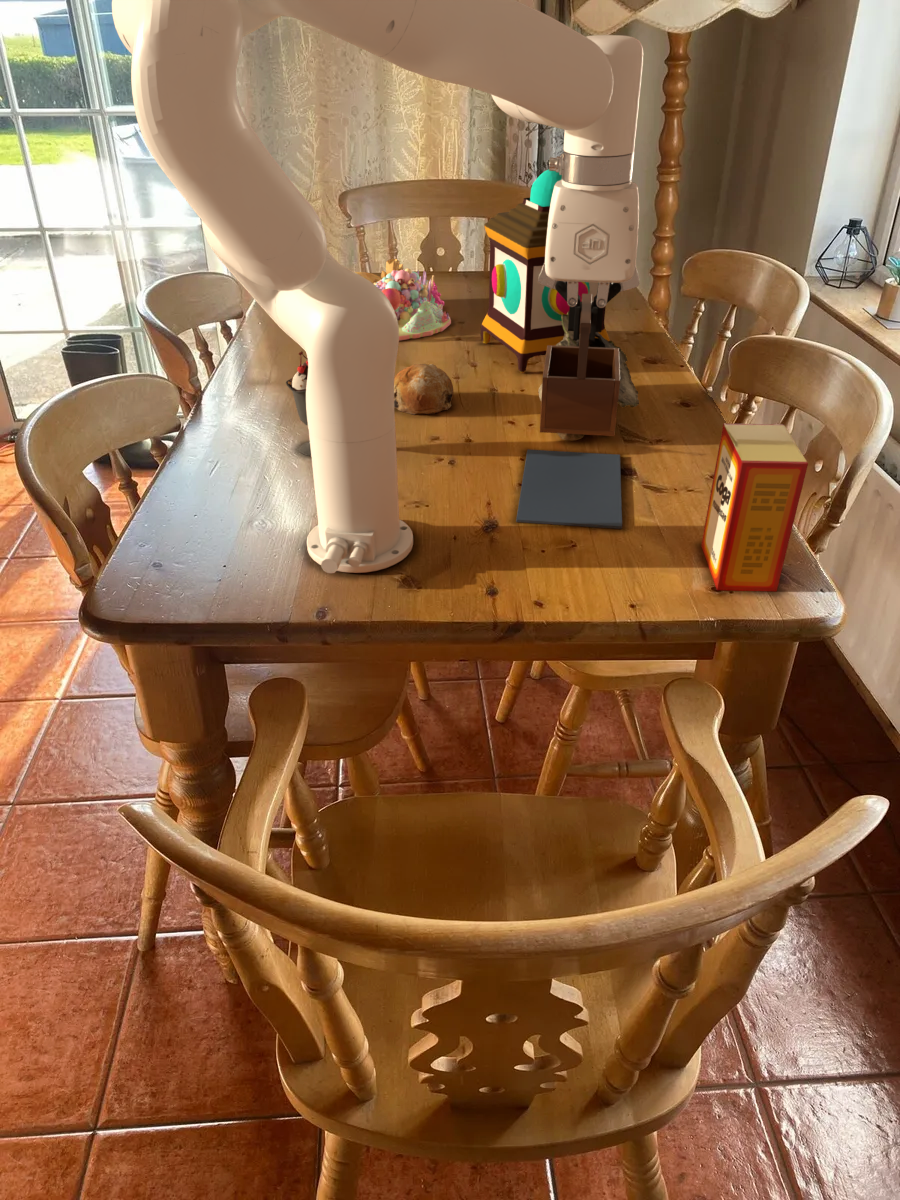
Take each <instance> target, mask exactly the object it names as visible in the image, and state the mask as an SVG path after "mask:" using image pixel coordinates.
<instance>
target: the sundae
mask: <svg viewBox="0 0 900 1200" xmlns="http://www.w3.org/2000/svg"><path fill="white" fill-rule="evenodd" d="M298 355H299V366H297V368H296V369H297V372H296V373H295V374H294V375H293V377H292V378H289V379H288V380H285V385H286V386H287V388H288V389H289V390H290V391H291V392H292V396H293V399H294V403H295V408H296V411H297V415H298V417H299V420H300V421H301V422H302V423H303V424H304V425H305V426H307V427H308V422H307V411H306V386H307V377H308V358H307V356H305V354H304V352H303V350H301V351H300V352H298ZM302 357H304V359H306V361H305V362H303V363H302ZM298 450H299V452H300V453H301V454H302V455H304V456H307V457H311V447H310V441H307V442H304V443H303V444H301V445H300V446H299V449H298Z"/></svg>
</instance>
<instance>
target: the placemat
mask: <svg viewBox="0 0 900 1200" xmlns="http://www.w3.org/2000/svg"><path fill="white" fill-rule="evenodd" d="M621 469H622V468H621V454H617V453H616V454H614V453H599V452H597V453H596V452H580V451H578V452H577V451H564V450H563V451H561V450H545V449H527V451H526V455H525V463H524V469H523V475H522V481H521V487H520V494H519V499H518V507H517V514H516V520H515V522H516V523H523V524H524V523H525V524H541V525H554V526H567V527H568V526H570V527H572V526H573V527H584V528H601V529H614V530H615V529H617V530H622V529H623V509H622V505H623V504H622V477H621V475H622V473H621V472H622V471H621Z"/></svg>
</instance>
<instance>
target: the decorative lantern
mask: <svg viewBox="0 0 900 1200" xmlns="http://www.w3.org/2000/svg"><path fill="white" fill-rule="evenodd" d="M560 180H562V175H559V172H556V171H549V168H548V169H547V170H544V171H543V172H542V173H541V174H539V176H538V177H536V179H535V180H534V181H533V183H532V185H531V188H530V195H529V196H530V197H524V198H523V200H522V202H520V203H518V204H516V206H515V207H514V208H510V209H509V211H506V212H497V213H496V215H495V216H494V217H491V218H489V220H488V221H487V222H485V223H484V230H485V233H486V235H487V237H488V240H489V275H488V276H489V279H488V281H489V285H488V308H487V309H488V310H487V312H486V315H485V316H484V319H483V320H482V323H481V325H480V339H481V342H482V343H483V344H485V345H487V344H488V343H490V341H491V337H492V338H494V339H495V340H496V341H498V342H499V343H500V344H502V345H503V346H504V347H505V348H507V349H508V350H509V351H511V352H512V353H513V354H514V355H515V356H516V358H517V368H518V371H519V372H520V373H521V374H524V373H525V372H526V370H527V366H528V364H529V363H528V362H529V360H530V359H531V358H534V357H540V356H546V351H547V345H552V346H556V345H557V344H558V343H559V342H560V341H562V340H563V337H564V336H565V335H564V333H565V332H564V329H563V326H562V323H561V322H562V319H561V318H562V317H561V316H562V315H563V314H565V315H567V313H568V312H569V307H570V306H569V305H568V304H567V301H566V300H565V299H564V298H563V297H562V296H561V295H560V294H559V293H558V292H557V290H555V289H552V288H549V287H546V286H544V285H541V284H540V283H539V282H538V278H539V275H540V272H541V269H542V267H543V264H544V262H545V249H546V238H547V228H548V218H549V211H550V204H551V199H552V194H553V190H554V186H555V184H556V182H558V181H560ZM597 288H598V282H578V295H579V296H580V297H581V298H580V302H582V294H592V302H593V300H594V297H595V296H596V295H597ZM606 306H607V305H606ZM606 306H605V307H604V309H603V320H602V331H601V332H598V333H599V334H600V335H602V337H603V338H605V339H606V340H608V342H609V341H611V339H610V336H609V334H608V332H607V329H606V325H605V317H606V316H605V315H606ZM595 338H597V337H595Z"/></svg>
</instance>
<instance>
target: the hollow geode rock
mask: <svg viewBox="0 0 900 1200" xmlns="http://www.w3.org/2000/svg"><path fill="white" fill-rule="evenodd" d="M561 317H562V318H561V319H562V322H561V323H562V326H563V329H564V332H565V333H564V335H565V336H564V337H563V340H562V341H560V342H559V343H558V344H557V345H556V346H577V347H579V340H580V335H579V340H577V341H573V335H574V331H568V322H569V312H568V313H567V315H565V314H563V315H562V316H561ZM595 337H597V338H595V341H590V340H589V343H588V347H602V348H619V363H620V388H619V397H618V405H619V406H620V408H623V409H625V408H626V407H628V406H629V408H636V407H637V406H639V405H640V400H639V398H638V397H639V391H638V389H636V386H635V384H634V382H633V381H632V375H631V371H630V369H629V367H628V365H627V362H628V357H627V355H626V353H624V351H623V350H622V349H621V347H620V346H616V345H615V343H614V341H612V340H610V341H609V342H608V340H606V339H605V338H603V337H602V335H600V334H599V333H598V332H596V333H595ZM537 393H538V397H539V401H541V398H542V383H541V384H540V385H539V387H538V391H537ZM556 434H557V436H558V437H559V438H560V439H561V440H565V441H573V442H574V441H578V440H581V439H583V438H584V436H585V435H583V434H564V433H556Z"/></svg>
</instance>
